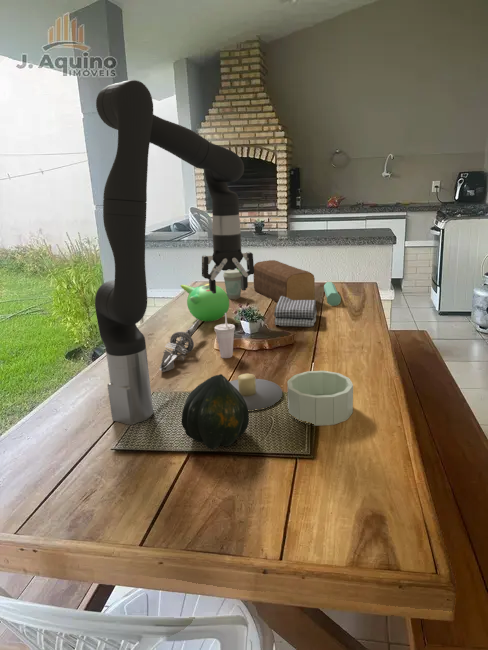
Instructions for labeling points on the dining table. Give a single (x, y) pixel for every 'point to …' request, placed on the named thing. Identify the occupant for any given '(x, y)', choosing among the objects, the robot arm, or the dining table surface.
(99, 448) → the dining table surface
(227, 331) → the smoothie
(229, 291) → the coffee cup
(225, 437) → the squash
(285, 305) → the towel
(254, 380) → the lid
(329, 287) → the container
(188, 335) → the spaceship
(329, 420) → the bowl
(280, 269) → the bread
